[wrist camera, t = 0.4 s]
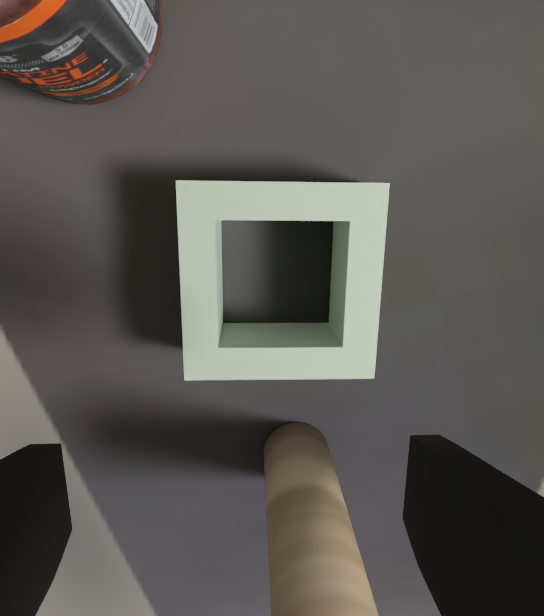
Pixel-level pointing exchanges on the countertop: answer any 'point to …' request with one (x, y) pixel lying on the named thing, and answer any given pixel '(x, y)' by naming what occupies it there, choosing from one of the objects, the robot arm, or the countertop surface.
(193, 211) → the hole block
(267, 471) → the beech peg
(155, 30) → the supplement bottle
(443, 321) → the countertop surface
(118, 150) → the countertop surface
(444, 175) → the countertop surface
